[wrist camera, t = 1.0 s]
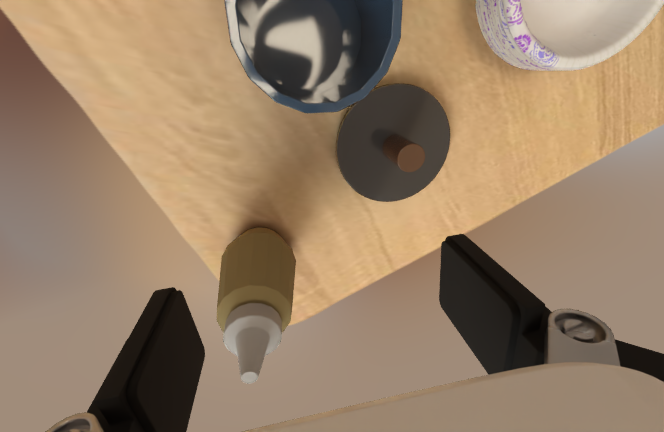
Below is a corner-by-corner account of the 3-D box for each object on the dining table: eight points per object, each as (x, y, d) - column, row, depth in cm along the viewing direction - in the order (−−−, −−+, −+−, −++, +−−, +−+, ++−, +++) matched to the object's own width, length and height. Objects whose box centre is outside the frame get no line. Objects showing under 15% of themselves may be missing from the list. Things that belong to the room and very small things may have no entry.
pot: (337, -70, 27) (365, -134, 19) (383, 69, 32) (422, 69, 24) (214, -6, 28) (187, -39, 19) (279, 121, 33) (281, 139, 24)
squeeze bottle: (254, 204, 36) (236, 314, 20) (307, 243, 39) (329, 365, 23) (211, 253, 38) (163, 391, 22) (266, 286, 41) (259, 428, 25)
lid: (427, 61, 33) (457, 59, 27) (456, 169, 38) (486, 185, 33) (315, 117, 33) (323, 126, 28) (360, 215, 39) (374, 238, 33)
